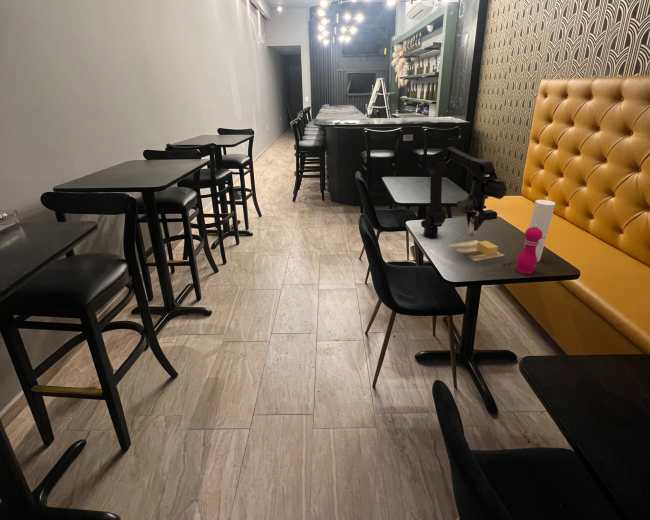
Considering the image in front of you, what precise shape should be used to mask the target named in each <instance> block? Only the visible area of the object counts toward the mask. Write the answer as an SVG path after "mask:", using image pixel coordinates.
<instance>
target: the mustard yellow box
mask: <svg viewBox="0 0 650 520" xmlns="http://www.w3.org/2000/svg"><path fill="white" fill-rule="evenodd" d="M498 249H499V246H498V245H495V244H494V243H492V242H490V241H488V240H482V241H479V242H477V247H476V250H478V251H479V252H481V253H483V254H485V255H487V256H489V255H494V254H497V251H498Z"/></svg>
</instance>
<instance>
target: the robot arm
mask: <svg viewBox="0 0 650 520" xmlns="http://www.w3.org/2000/svg"><path fill="white" fill-rule="evenodd" d="M450 161H453V162H455V163H456V164H459V165H461V166H463V167H465V168H466V169H467V170H468V172H469V173H470V174H472V176H470V177H468V180H469V181H472V186H471V191H470V192H471V193H470V194H468V195H467V198H466V199H463V200H458V201H456V204H455V208H457V209H456V210H457V212H459V213H462V214H464V215H465V217H466V221H467V227H468V228H469V222H470V216H473V217H474V218H475V224H474V231H476V232H477V231H478V230H479V229H480V227H481V226H482V225H483V223H484V222H485V221H491V220H497V219H498V213H497V211H495V210H492V209H487V205H485V203H486V199H489V197H490V198H494V199H497V200H502V199H503V198H504V197H505V196H506V194H507V191H508V190H507V186H506V184H505V180H501V179H499V180H498V175H497V173H496V170H495V168H494V163H493V161H491V160H488V159H482V158H475V157H474V156H472V155H469V154H467V153H465V152H464V151H463V152H462V151H461V150H459V149H457V148H456V147H454V146H453V147H445V148H443V149H442V150H441V151H438V152H436V153H434V154H430V155H428V157H427V158H426V161H425V162H426V169H427V171H428V173H429V175H430V181H429V182H430V192H429V193H430V194H429V195H430V197H429V198H430V199H429V202H430V203H429V208H428V210H427V212H426V216H425V219H423V220H422V221H421V222H420V226H421V227H422V228H423V236H424V237H425V238H427V239H431V240H436V239H438V234H439V227H442V226H443V224H444V223H445V222H446V219H447V211H446V209H444V208H443V207H442V197H443V196H442V194H443V193H442V191H443V189H442V188H443V173H445V172H444V171H445V170H446V168H447V163H448V162H450Z"/></svg>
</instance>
